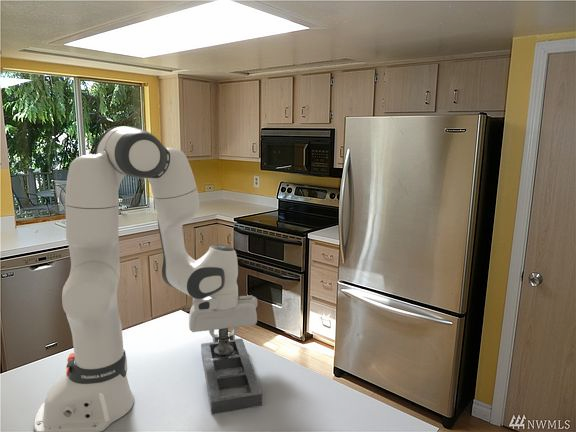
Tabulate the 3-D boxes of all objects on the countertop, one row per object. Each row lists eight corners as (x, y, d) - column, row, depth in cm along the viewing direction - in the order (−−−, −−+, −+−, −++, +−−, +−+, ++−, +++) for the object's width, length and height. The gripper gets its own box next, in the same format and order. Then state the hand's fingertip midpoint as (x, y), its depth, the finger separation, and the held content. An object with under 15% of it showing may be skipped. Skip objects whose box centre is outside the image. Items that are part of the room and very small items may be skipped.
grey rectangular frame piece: (211, 414, 105) (211, 402, 104) (201, 353, 132) (201, 343, 131) (262, 405, 109) (262, 393, 108) (242, 348, 135) (242, 338, 135)
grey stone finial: (231, 365, 126) (231, 329, 123) (212, 364, 126) (211, 328, 123) (234, 355, 131) (234, 319, 129) (216, 354, 132) (215, 319, 129)
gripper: (255, 290, 130) (255, 331, 133) (187, 296, 124) (189, 339, 127) (259, 298, 124) (259, 341, 127) (188, 305, 118) (190, 350, 121)
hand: (223, 340), depth 127 cm, fingers closed on grey stone finial, 4 cm apart
